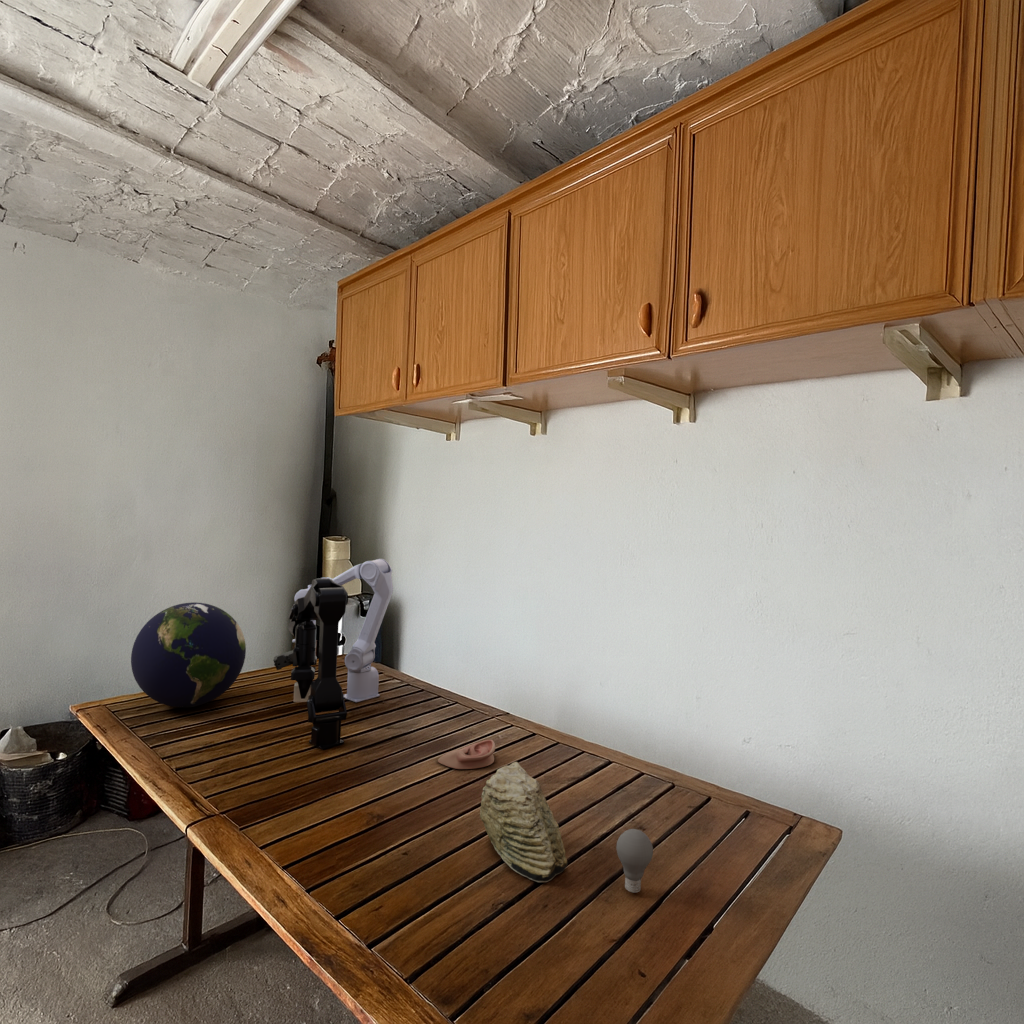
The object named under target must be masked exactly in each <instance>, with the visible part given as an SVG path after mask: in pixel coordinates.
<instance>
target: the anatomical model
mask: <svg viewBox="0 0 1024 1024" xmlns="http://www.w3.org/2000/svg"><path fill="white" fill-rule="evenodd" d="M495 751H496V743H495V741H494V740H493V739H484V740H481V741H478V742H475V743H472V744H470V745H467V746H465V747H461V748H458V749H454V750H451V751H448V752H445V753H444V754H443V755H441V756H440V757H439V758H438V759H437V762H438V763H439V764H441V765H442V766H445V767H449V768H451V769H456V770H472V769H480V768H484V767H487V766H490V765H492V764H493V763H494V762H495V756H494V753H495Z"/></svg>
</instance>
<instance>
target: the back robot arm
mask: <svg viewBox="0 0 1024 1024" xmlns="http://www.w3.org/2000/svg"><path fill="white" fill-rule="evenodd" d="M392 573H393V569H392V567H391V565H390V563H389V562H388V561H387V560H386V559H384V558H376V559H373V560H366V561H364V562H363V563H359V564H356V565H353V566H352V567H350V568H348V569H347V570H345V571H344V572H341V573H340V574H339V575H337V576H335V577H333V578H332V577H330V576H329V577H328V576H327V577H325V576H324V577H322V578H329V579H332V580H333V582H335V583H337V584H339V585H341V586H343V585H346V584H348V583H350V582H352V581H354V580H356V579H358V580H361V579H363V580H364V582H366V584H368V585H369V587H371V589H372V591H373V593H374V594H373V596H372V599H371V602H370V604H369V607H368V610H367V613H366V615H365V618H364V621H363V624H362V626H361V629H360V631H359V634H358V637H357V639H356V641H355V642H354V643H353V645H352V646H351V649H350V650H349V652H348V653H346V655H345V656H344V665H345V667H346V669H347V679H346V680H347V682H346V693H343V695H344V700H347V701H351V702H354V703H359V702H364V701H368V700H370V699H371V700H372V699H374V698H378V697H380V696H381V694H379V685H380V684H379V683H380V675H379V674H380V673H379V671H378V669H377V668H376V667H374V666H372V663H373V662H374V661H375V658H376V654H375V652H376V647H377V645H376V643H375V642H376V640H377V639H376V638H377V636H378V634H379V631H380V628H381V625H382V623H383V620H384V617H385V615H386V612H387V608H388V607H389V604H390V601H391V598H392V596H393V593H394V585H393V577H392ZM311 586H312V583H311V584H308V585H307V588H304V589H303V588H302V589H299V590H298V591H297V592H296V593H295V594H294V597H293V598H294V599H293V600H294V602H295V601H296V600H297V599H298V598H302V597H305V595H306V594H307V592H308V590H309V589H310V587H311ZM312 621H313V623H314V624H315V625H316V624H317V620H312ZM316 626H317V625H316ZM291 642H292V643H294V644H295V638H294V639H293V638H292V641H291Z"/></svg>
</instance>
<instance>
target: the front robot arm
mask: <svg viewBox="0 0 1024 1024" xmlns="http://www.w3.org/2000/svg"><path fill="white" fill-rule="evenodd" d="M329 578H330V577H329ZM329 578H327V577H325V578H323V577H320V578H319V577H318V578H315V579H312V581H311V584H312V586H311V587H310V589H309V590H308V592H307V594H306V595H305V597H302V598H298V599H297V600H296V601H295V600H294V603H293V604H292V606H291V608H290V610H289V614H288V616H287V617H288V620H289V623H288V624H287V625H288V626H287V629H288V631H289V633H290V634H291V635H292V636H293V637H294V639H295V643H294V645H293V649H292V650H289V651H285V652H283V653H281V654H278V655H275V656H274V657H273V660H272V661H273V663H274V664H273V665H274V666H275V668H276V670H277V671H279V670H282V669H283V668H286V667H289V666H291V665H292V667H294V668H293V669H291V673H290V680H291V681H295V682H298V686H299V691H300V696H301V699H305V697H306V695H307V693H308V690H309V688H310V686H311V693H310V695H309V697H308V701H307V702H306V709H307V722H308V723H310V724H312V727H311V730H310V731H311V732H310V733H311V735H310V739H309V740H308V743H309V744H310V745H313V746H314V747H316V748H318V749H320V750H327V749H329V748H333V747H336V746H340V745H343V744H344V743H345V741H344V740H343V739H341V737H342V735H341V733H342V721H346V720H347V717H348V710H347V706H346V701H345V700H346V699H345V698H344V692H343V688H342V686H341V684H340V683H339V680H338V679H337V668H338V665H337V664H338V646H339V645H338V643H339V624H340V621H341V620H342V619H343V617H344V615H345V614H346V612H347V611H346V610H347V605H348V603H349V595H348V591H347V589H346V588H345V586H343V585H339V584H337V583H335V582H333V580H332V579H333V578H332V579H329ZM312 620H316V621H318V620H319V639H318V640H319V643H318V657H317V655H316V649H317V625H315V624H314V623H313V621H312ZM317 663H318V665H317ZM316 670H317V677H316ZM315 677H316V679H315Z"/></svg>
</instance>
